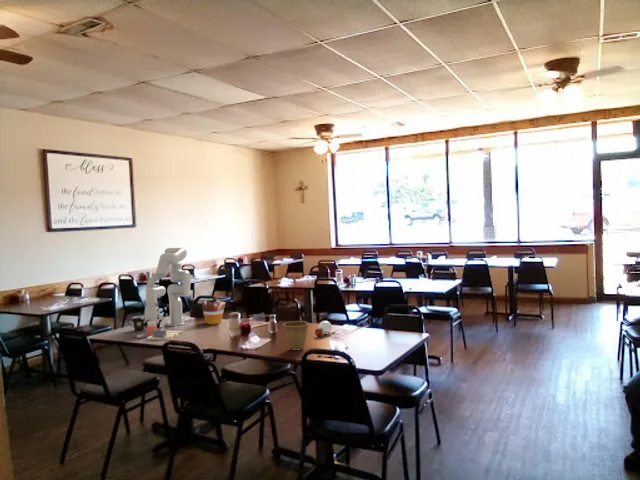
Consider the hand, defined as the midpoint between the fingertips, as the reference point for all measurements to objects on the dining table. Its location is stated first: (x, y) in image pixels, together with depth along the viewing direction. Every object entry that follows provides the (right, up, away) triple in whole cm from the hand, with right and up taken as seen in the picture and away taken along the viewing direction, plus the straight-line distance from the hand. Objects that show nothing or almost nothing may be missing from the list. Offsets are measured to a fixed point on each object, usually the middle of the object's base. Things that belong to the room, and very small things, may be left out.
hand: (152, 328), depth 356 cm
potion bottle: (+123, -2, -18) cm, 124 cm away
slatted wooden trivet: (+12, -4, -8) cm, 15 cm away
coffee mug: (-16, -4, +15) cm, 22 cm away
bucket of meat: (+37, -2, +33) cm, 49 cm away
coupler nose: (+10, -3, -15) cm, 18 cm away
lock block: (0, -4, +1) cm, 4 cm away
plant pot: (+106, -4, -53) cm, 119 cm away
